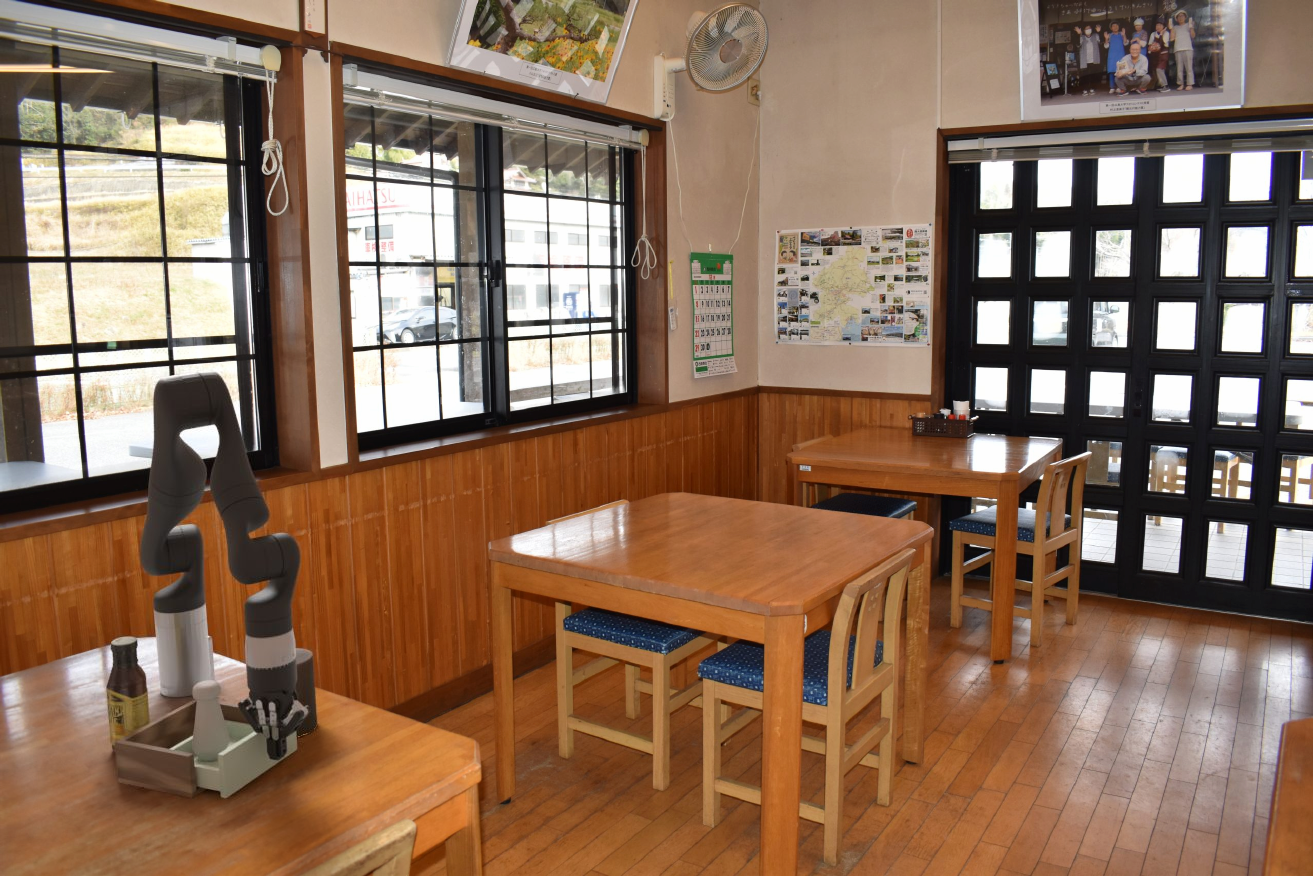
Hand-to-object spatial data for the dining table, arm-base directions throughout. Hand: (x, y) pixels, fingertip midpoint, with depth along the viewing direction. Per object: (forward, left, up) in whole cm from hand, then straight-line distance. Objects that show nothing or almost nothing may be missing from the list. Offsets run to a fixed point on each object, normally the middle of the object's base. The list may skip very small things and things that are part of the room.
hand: (277, 757), depth 160 cm
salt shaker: (0, -13, -2) cm, 13 cm away
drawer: (0, -10, -3) cm, 11 cm away
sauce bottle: (-1, -31, -4) cm, 32 cm away
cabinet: (0, -16, -4) cm, 17 cm away
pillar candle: (-16, -10, -4) cm, 19 cm away
